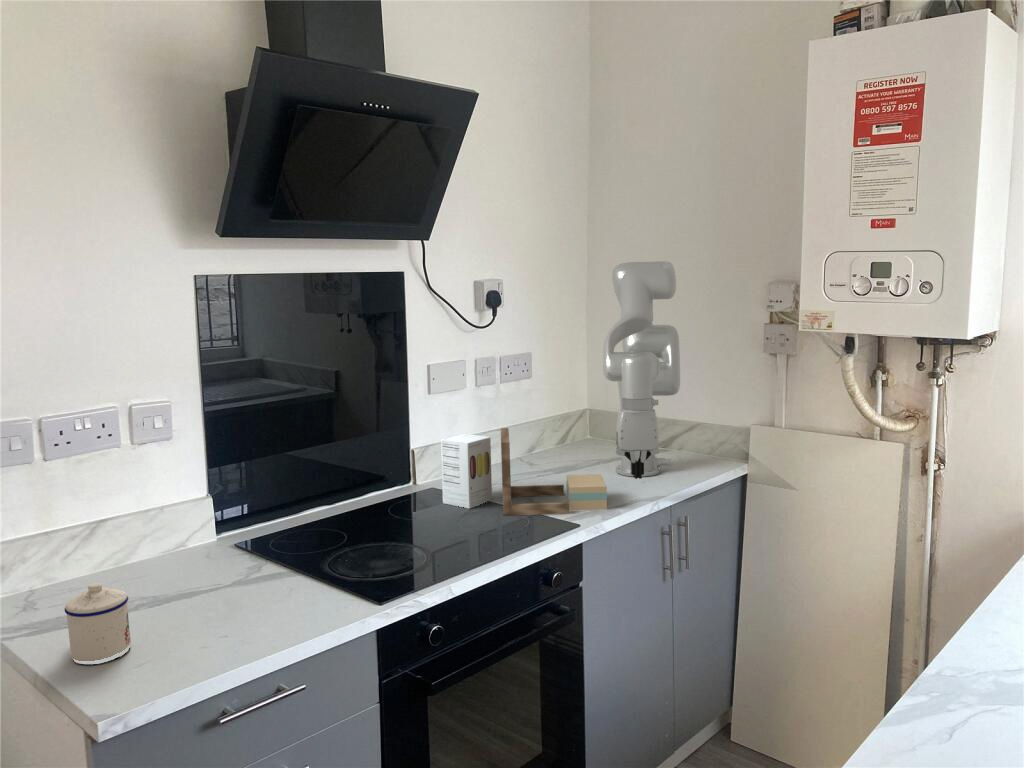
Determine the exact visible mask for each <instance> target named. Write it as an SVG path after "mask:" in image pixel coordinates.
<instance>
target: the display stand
mask: <svg viewBox="0 0 1024 768" xmlns="http://www.w3.org/2000/svg"><path fill="white" fill-rule="evenodd" d="M509 431H510V430H509V427H501V428H500V447H501V449H500V452H501V477H502V478H501V483H502V484H501V485H502V486H501V489H502V512H503V513H502V514H503V515H502V516H504V517H506V516H509V517H510V516H534V515H535V516H537V515H539V516H540V515H563V514H564V515H565V514H571V513H570V511H571V510H570V508H569V502H568V501H563V502H532V503H531V502H529V503H512V498H513V497H514V498H515V497H516V498H517V497H519V496H520V497H541V496H540V495H551V496H564V495H565V487H564V484H540V485H538V484H537V485H512V483H511V481H512V480H511V451H510V450H511V449H510V446H511V443H510V442H511V441H510V433H509Z"/></svg>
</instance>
